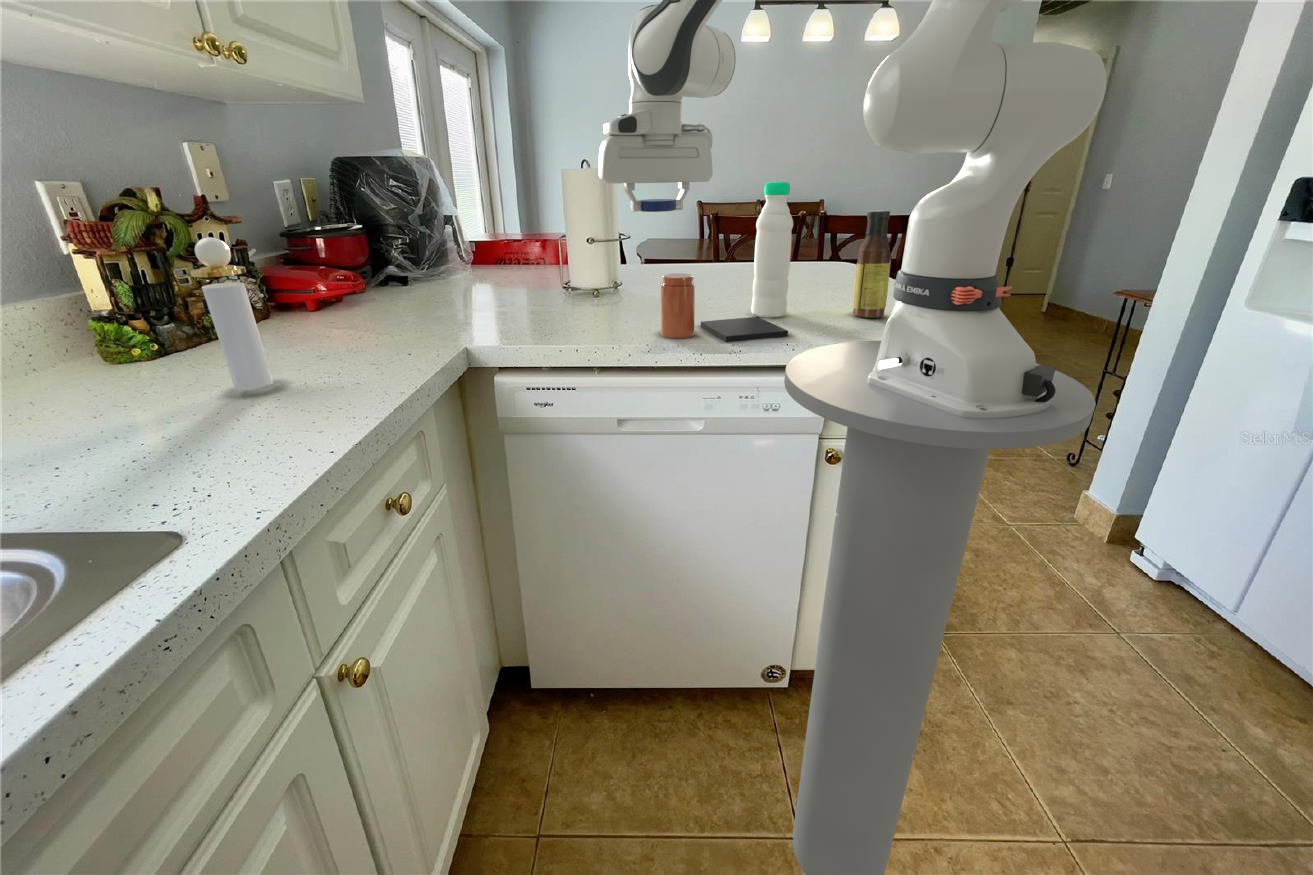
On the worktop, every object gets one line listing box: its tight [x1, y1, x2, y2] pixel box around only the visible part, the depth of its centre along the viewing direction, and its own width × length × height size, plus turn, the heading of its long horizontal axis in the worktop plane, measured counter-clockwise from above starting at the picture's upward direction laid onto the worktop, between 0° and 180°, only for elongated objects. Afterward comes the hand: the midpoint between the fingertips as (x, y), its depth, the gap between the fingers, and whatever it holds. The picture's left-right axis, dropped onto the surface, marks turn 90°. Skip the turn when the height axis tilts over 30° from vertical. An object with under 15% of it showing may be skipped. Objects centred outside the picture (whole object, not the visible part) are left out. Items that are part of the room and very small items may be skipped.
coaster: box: [700, 316, 789, 343], centre depth 107 cm, size 12×12×1 cm
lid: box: [639, 198, 676, 213], centre depth 105 cm, size 6×6×2 cm
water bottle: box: [750, 181, 794, 318], centre depth 115 cm, size 7×7×25 cm
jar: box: [660, 272, 696, 339], centre depth 104 cm, size 6×6×10 cm
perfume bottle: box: [189, 236, 274, 391], centre depth 76 cm, size 6×6×20 cm
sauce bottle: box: [852, 209, 892, 319], centre depth 114 cm, size 7×6×20 cm
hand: (656, 210), depth 105 cm, fingers closed on lid, 6 cm apart
